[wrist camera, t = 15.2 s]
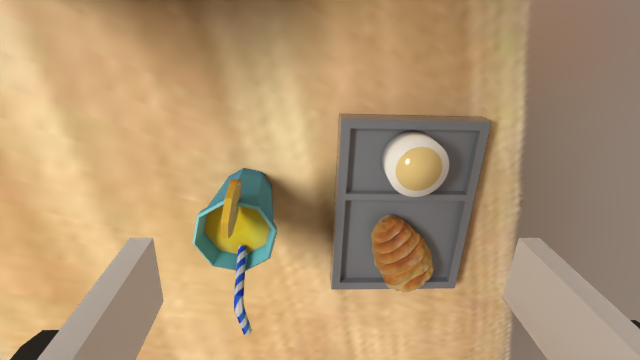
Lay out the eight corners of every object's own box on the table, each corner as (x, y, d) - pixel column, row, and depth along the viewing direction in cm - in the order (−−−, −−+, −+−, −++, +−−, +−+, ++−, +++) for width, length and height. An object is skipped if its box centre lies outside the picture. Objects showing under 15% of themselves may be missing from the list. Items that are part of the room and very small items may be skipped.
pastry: (354, 229, 44) (362, 244, 41) (403, 201, 44) (416, 213, 41) (387, 286, 47) (397, 304, 44) (433, 260, 47) (447, 276, 44)
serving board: (330, 278, 49) (333, 304, 45) (339, 113, 40) (344, 125, 36) (448, 277, 50) (463, 302, 46) (481, 116, 41) (504, 128, 37)
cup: (291, 241, 47) (289, 334, 33) (230, 249, 47) (202, 346, 33) (272, 134, 41) (260, 193, 27) (202, 144, 41) (154, 207, 27)
